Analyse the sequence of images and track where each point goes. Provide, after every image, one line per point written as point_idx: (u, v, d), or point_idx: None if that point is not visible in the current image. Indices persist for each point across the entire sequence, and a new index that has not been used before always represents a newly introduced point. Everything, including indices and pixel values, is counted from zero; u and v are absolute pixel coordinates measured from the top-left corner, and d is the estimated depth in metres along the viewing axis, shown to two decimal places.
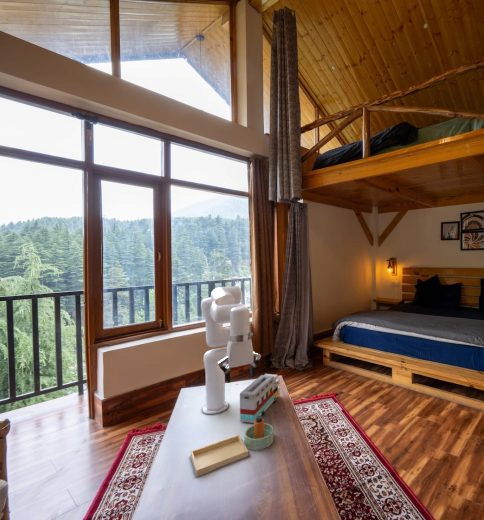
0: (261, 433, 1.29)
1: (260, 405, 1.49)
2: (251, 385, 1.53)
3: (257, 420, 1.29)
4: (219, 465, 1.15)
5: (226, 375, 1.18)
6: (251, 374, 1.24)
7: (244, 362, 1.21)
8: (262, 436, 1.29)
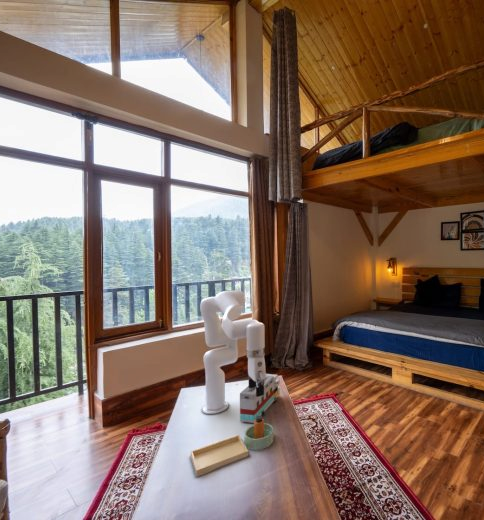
0: (261, 433, 1.29)
1: (260, 405, 1.49)
2: None
3: (257, 420, 1.29)
4: (219, 465, 1.15)
5: None
6: None
7: (251, 377, 1.26)
8: (262, 436, 1.29)
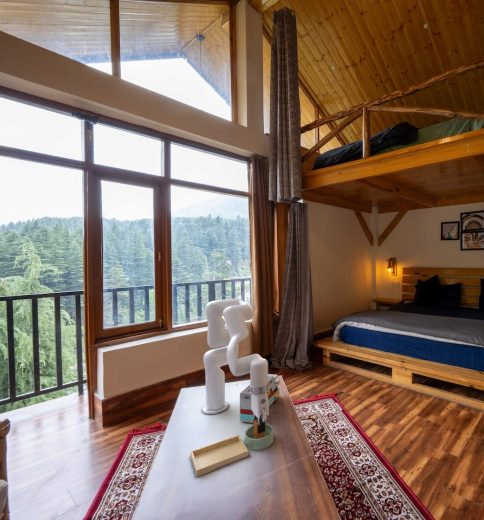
0: (261, 433, 1.29)
1: None
2: None
3: (257, 420, 1.29)
4: (219, 465, 1.15)
5: None
6: None
7: (255, 413, 1.28)
8: (262, 436, 1.29)
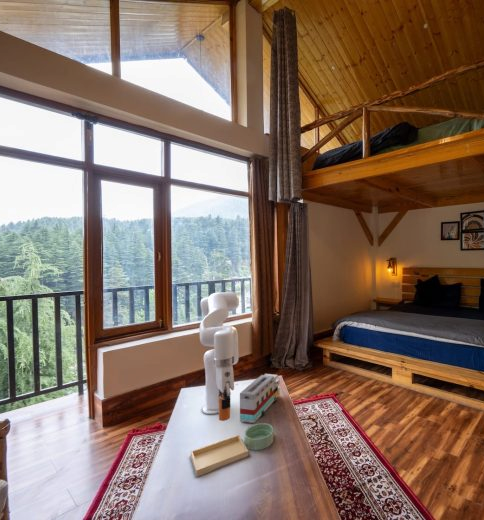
0: (225, 409, 1.20)
1: (260, 405, 1.49)
2: (251, 385, 1.53)
3: None
4: (219, 465, 1.15)
5: None
6: None
7: (219, 387, 1.19)
8: (227, 412, 1.21)
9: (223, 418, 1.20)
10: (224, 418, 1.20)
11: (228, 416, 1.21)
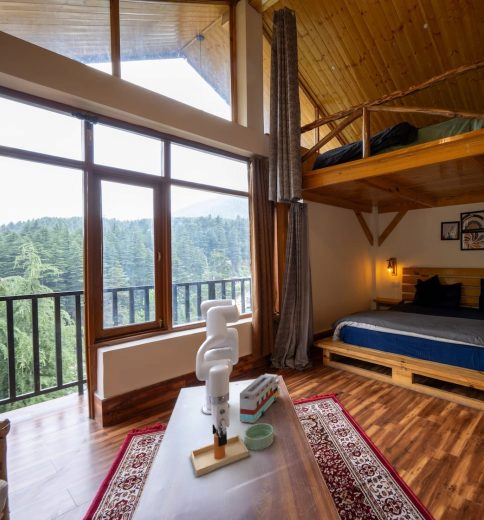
0: (221, 447, 1.19)
1: (260, 405, 1.49)
2: (251, 385, 1.53)
3: (217, 433, 1.19)
4: (219, 465, 1.15)
5: (214, 425, 1.25)
6: None
7: (214, 424, 1.19)
8: (222, 450, 1.20)
9: (218, 456, 1.19)
10: (219, 456, 1.19)
11: (223, 454, 1.20)
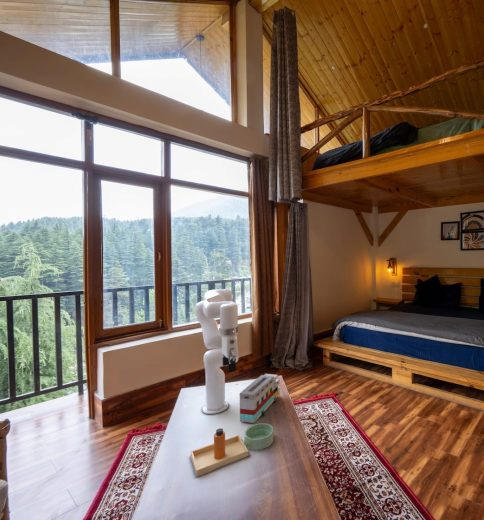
0: (221, 447, 1.19)
1: (260, 405, 1.49)
2: (251, 385, 1.53)
3: (217, 433, 1.19)
4: (219, 465, 1.15)
5: None
6: None
7: (224, 354, 1.34)
8: (222, 450, 1.20)
9: (218, 456, 1.19)
10: (219, 456, 1.19)
11: (223, 454, 1.20)
